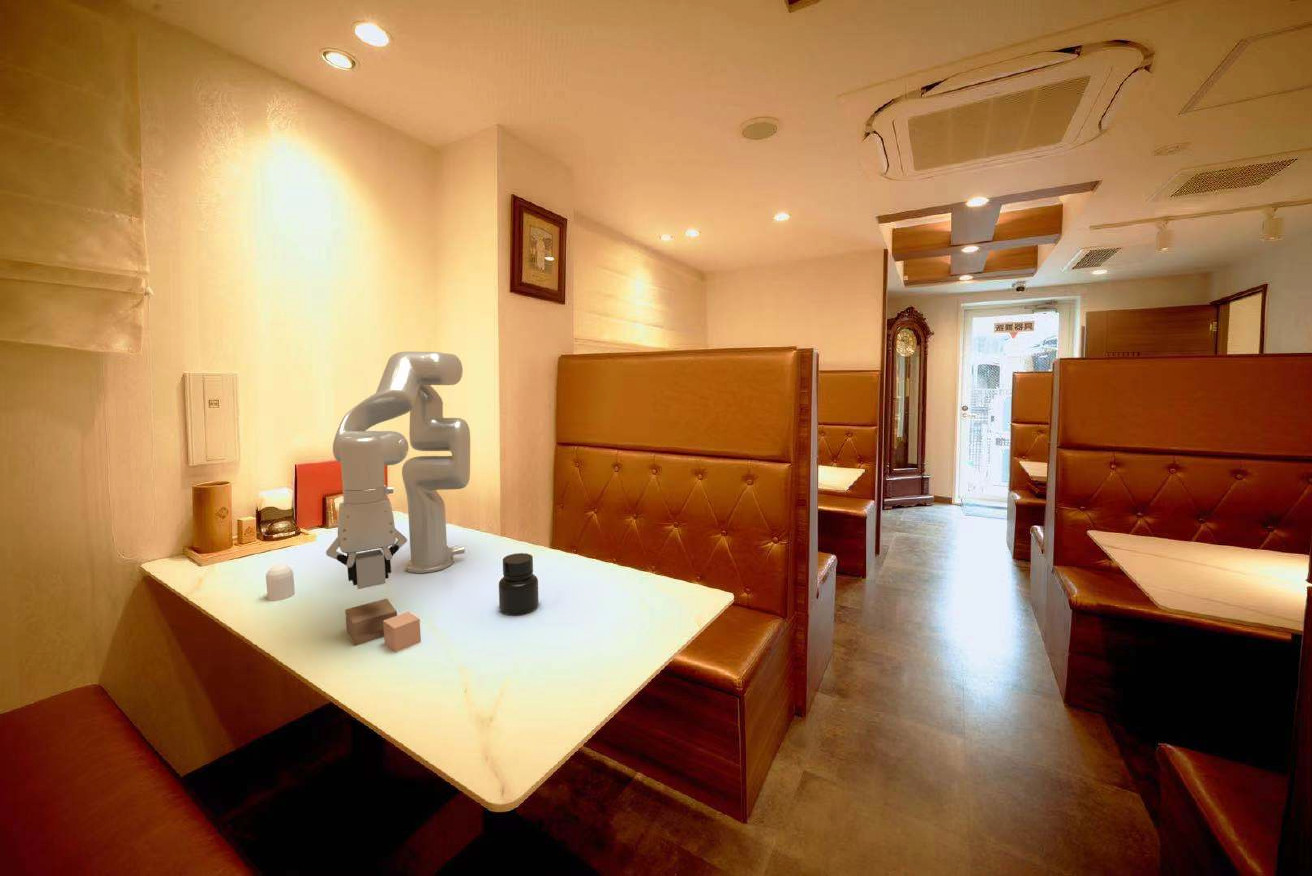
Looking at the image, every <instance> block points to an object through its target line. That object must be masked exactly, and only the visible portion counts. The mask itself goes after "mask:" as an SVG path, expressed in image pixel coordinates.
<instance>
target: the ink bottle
mask: <svg viewBox="0 0 1312 876" xmlns="http://www.w3.org/2000/svg"><path fill="white" fill-rule="evenodd" d="M533 561H534V560H533V555H531V554H530V553H525V552H524V553H523V552H520V553H517V552H516V553H511V554H508V555H507V556H505V557H503V558H502V575H503V577H502V578H501V579H500V580H499V582H498V606H499V607H498V608H499V610H500V611H501V612H502V613H504V614H507V615H510V616H512V615H513V616H520V615H524V614H527V613H530V612H532V611H534V610H535V609H537V607H538V606H539V602H540V601H539V600H540V599H539V580H538V576H536V575H535V574H534V573H533V572H534V563H533Z"/></svg>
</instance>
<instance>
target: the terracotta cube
mask: <svg viewBox="0 0 1312 876" xmlns="http://www.w3.org/2000/svg"><path fill="white" fill-rule="evenodd" d="M383 629H384V637H383V641H384V643H383V644H385V645H386V646H387V647H388V648H389V649H391V650H392V651H394V652H395V653H397V652H399V651H402V650H405V649H407V648H410V647H411V646H414V645H416V644H419V643H421V642H422V639H421V638H422V637H421V635H422V634H421V620H420V618H419V617H417V616H416V615H414V614H412V613H411V612H410V611H406V612H403V613H400V614H397V616H395V617H392V618H389V619H386V620H384V621H383ZM404 648H405V649H404Z"/></svg>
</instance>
